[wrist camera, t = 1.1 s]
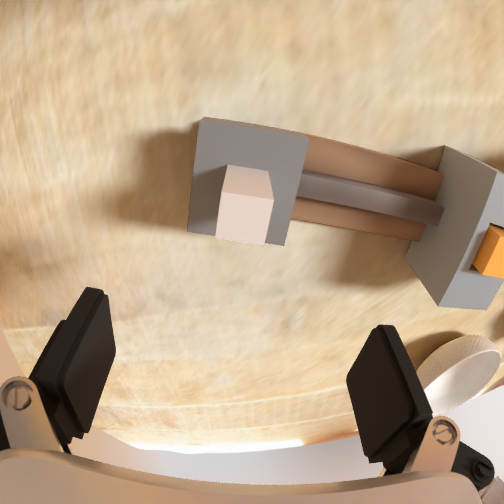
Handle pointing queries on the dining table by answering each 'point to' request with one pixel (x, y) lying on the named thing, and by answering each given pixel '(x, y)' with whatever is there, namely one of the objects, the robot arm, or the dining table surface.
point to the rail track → (370, 173)
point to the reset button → (491, 252)
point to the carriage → (245, 181)
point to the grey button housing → (460, 233)
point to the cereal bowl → (458, 371)
